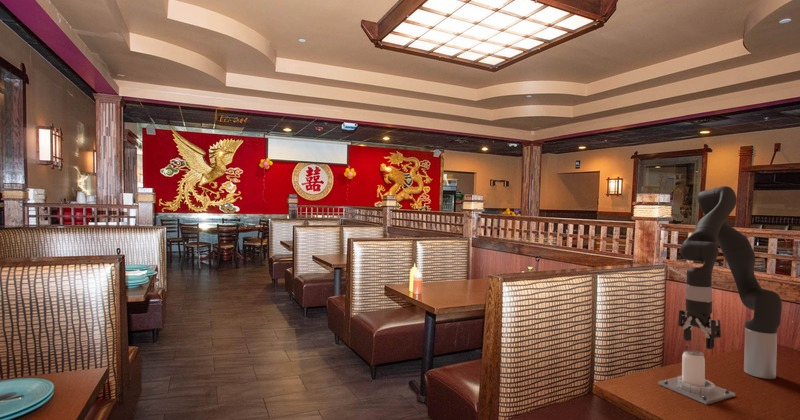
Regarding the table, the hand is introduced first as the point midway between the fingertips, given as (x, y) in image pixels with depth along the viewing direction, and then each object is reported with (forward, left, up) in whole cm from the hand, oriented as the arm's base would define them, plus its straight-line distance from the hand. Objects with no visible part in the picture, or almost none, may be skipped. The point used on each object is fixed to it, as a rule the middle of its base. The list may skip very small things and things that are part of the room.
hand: (698, 344), depth 140 cm
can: (0, -1, -16) cm, 15 cm away
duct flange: (0, -1, -16) cm, 16 cm away
